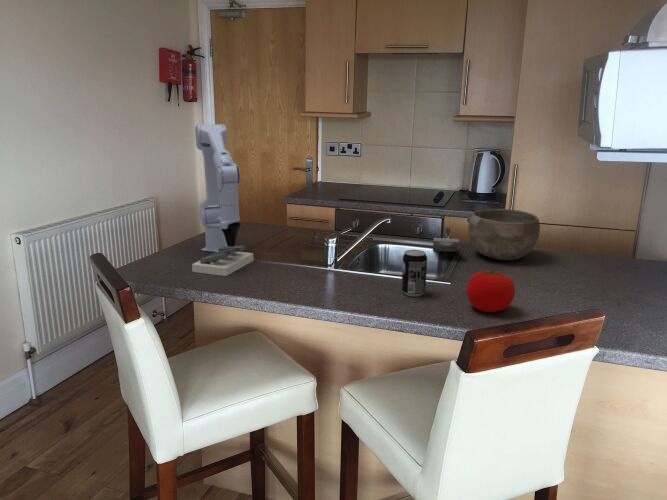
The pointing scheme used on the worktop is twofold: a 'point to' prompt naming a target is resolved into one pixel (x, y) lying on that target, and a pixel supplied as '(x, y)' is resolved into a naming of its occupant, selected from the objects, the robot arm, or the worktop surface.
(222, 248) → the rocker
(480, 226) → the bowl
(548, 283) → the worktop surface
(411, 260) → the beverage can
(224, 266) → the switch panel
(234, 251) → the rocker
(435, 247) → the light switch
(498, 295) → the tomato
